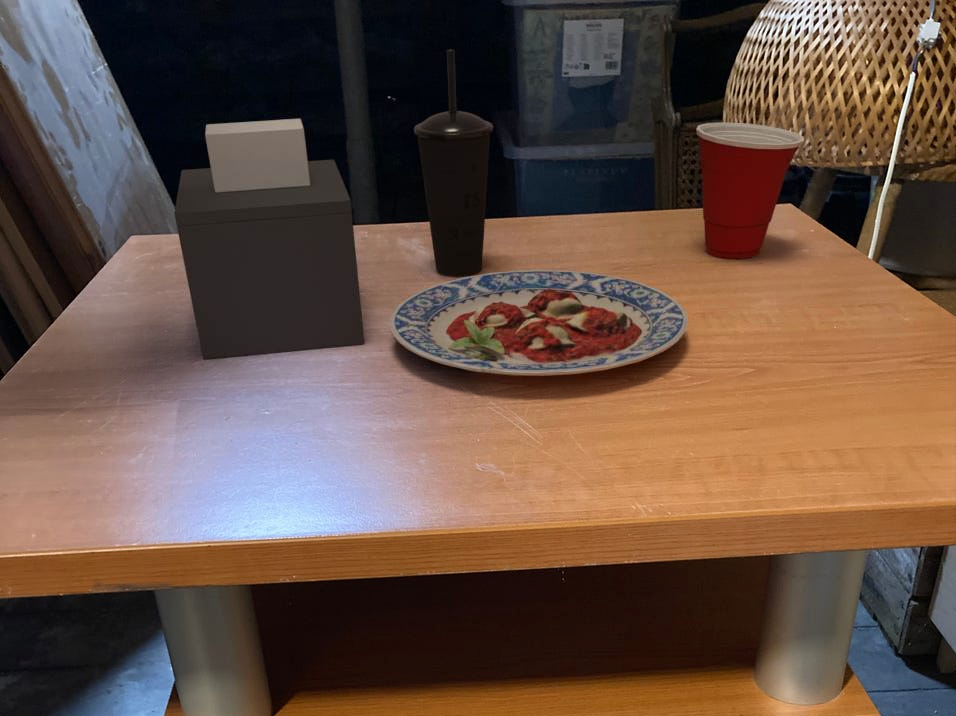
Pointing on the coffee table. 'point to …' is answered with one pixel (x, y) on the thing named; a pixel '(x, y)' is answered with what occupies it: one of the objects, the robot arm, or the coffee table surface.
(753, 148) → the plastic cup
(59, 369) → the coffee table surface
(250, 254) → the dark lidded cube box
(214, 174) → the light gray rectangular block
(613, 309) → the ceramic plate
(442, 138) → the drinking cup
